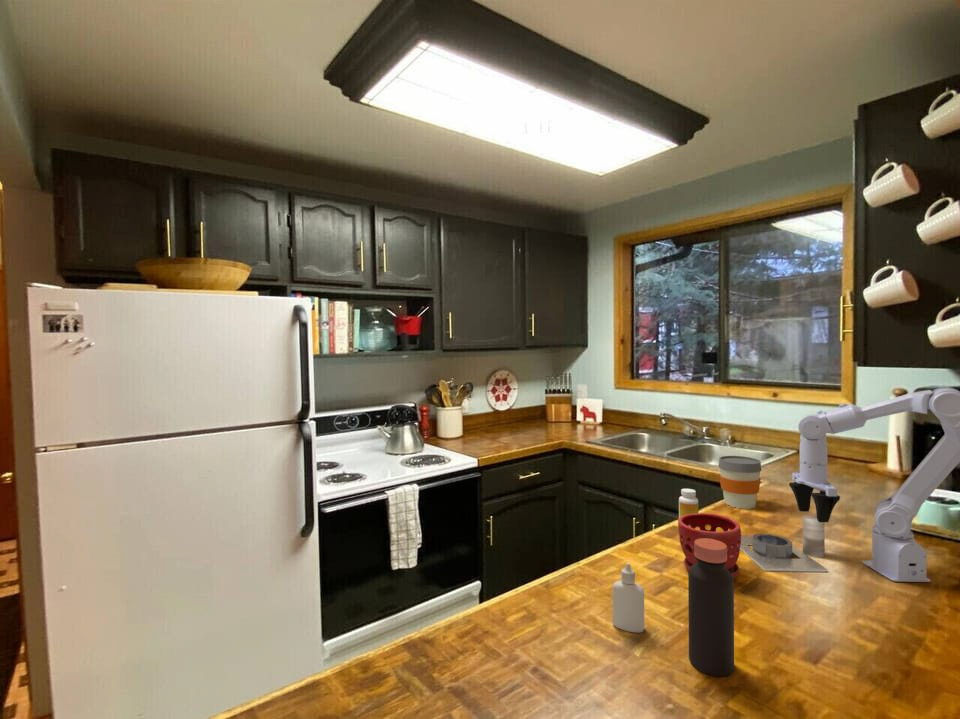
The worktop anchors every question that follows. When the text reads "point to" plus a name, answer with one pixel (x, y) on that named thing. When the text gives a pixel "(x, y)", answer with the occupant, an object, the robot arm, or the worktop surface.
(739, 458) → the reusable coffee cup
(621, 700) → the worktop surface
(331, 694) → the worktop surface
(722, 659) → the dark water bottle
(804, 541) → the peg
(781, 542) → the collar stand
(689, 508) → the supplement bottle
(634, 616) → the eye dropper bottle
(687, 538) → the plant pot
